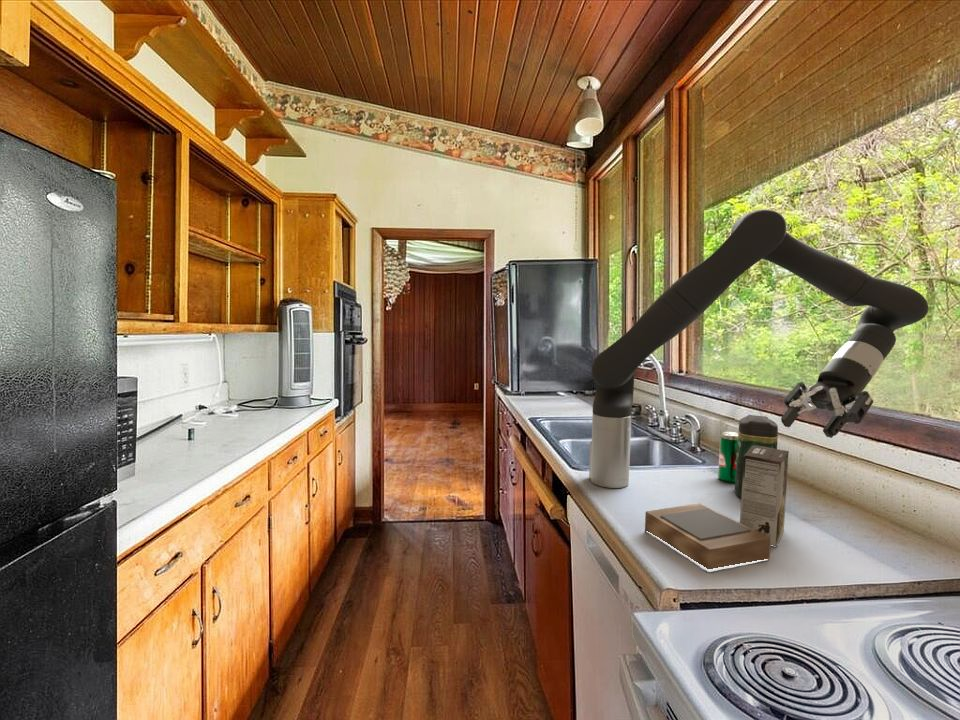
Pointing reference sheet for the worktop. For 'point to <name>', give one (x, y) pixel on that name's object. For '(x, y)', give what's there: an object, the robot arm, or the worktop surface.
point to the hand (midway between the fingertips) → (804, 429)
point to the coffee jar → (753, 441)
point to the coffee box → (764, 491)
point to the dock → (707, 535)
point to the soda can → (728, 457)
